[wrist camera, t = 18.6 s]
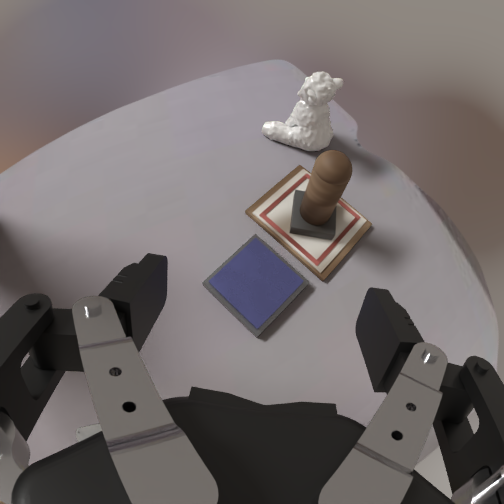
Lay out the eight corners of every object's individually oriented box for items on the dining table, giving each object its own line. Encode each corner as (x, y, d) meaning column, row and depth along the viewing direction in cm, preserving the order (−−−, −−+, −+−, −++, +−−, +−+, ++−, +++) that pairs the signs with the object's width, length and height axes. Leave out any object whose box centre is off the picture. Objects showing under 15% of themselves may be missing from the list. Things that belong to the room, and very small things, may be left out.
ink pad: (203, 285, 34) (201, 281, 32) (254, 237, 36) (255, 231, 35) (256, 337, 32) (257, 335, 30) (307, 285, 34) (310, 280, 33)
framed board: (245, 213, 37) (245, 209, 36) (298, 167, 40) (300, 163, 39) (322, 281, 34) (324, 279, 34) (370, 226, 37) (373, 222, 37)
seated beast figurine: (302, 107, 45) (315, 45, 34) (345, 139, 43) (369, 77, 32) (258, 133, 42) (264, 65, 31) (303, 170, 40) (323, 102, 29)
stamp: (289, 233, 36) (308, 173, 25) (293, 196, 38) (311, 132, 27) (331, 240, 36) (365, 185, 25) (333, 203, 37) (363, 143, 27)
